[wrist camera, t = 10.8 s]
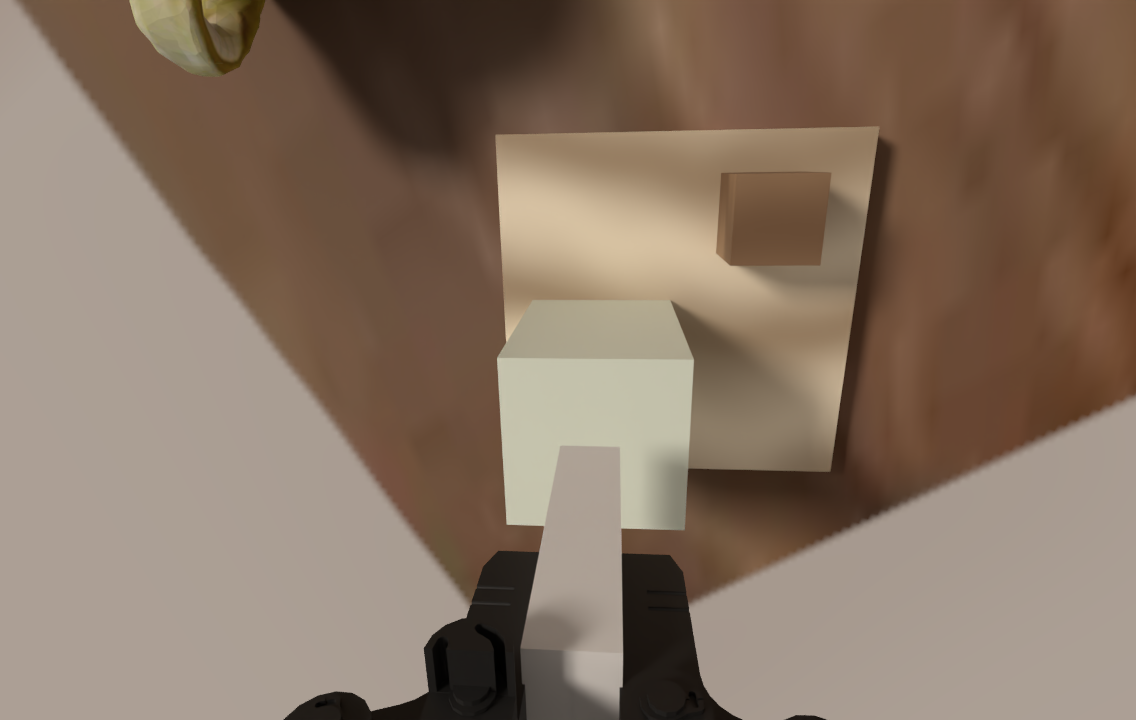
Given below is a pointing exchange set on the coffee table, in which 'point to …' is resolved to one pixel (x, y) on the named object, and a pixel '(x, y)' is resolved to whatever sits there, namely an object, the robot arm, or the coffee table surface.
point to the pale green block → (598, 404)
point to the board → (707, 264)
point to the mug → (200, 31)
